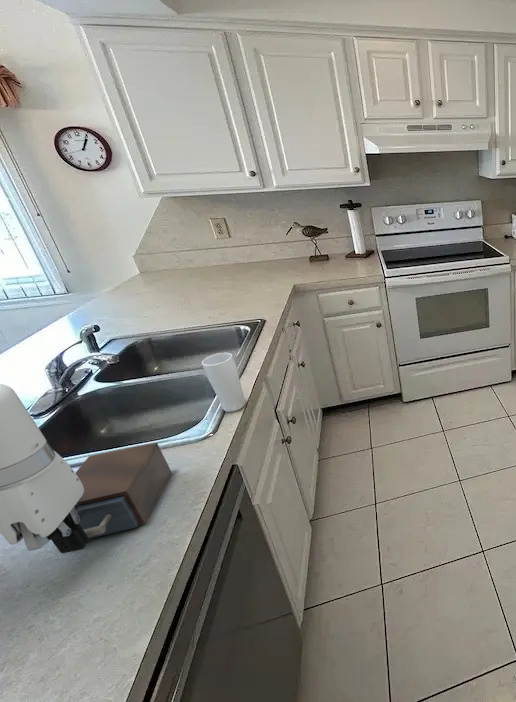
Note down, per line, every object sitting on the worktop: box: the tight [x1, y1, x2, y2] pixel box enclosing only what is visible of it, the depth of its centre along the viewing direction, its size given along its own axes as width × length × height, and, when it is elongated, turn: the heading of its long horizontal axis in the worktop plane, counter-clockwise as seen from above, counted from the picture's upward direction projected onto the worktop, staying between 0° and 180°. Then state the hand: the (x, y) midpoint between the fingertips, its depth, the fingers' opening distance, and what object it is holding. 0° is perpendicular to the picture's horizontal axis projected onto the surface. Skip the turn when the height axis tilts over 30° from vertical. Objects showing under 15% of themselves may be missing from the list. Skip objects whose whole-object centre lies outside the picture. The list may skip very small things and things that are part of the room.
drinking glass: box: [201, 352, 246, 413], centre depth 107 cm, size 7×7×15 cm
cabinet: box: [75, 442, 173, 527], centre depth 80 cm, size 14×12×9 cm
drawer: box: [77, 495, 139, 539], centre depth 77 cm, size 16×10×7 cm, turn 18°
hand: (76, 546), depth 68 cm, fingers closed
